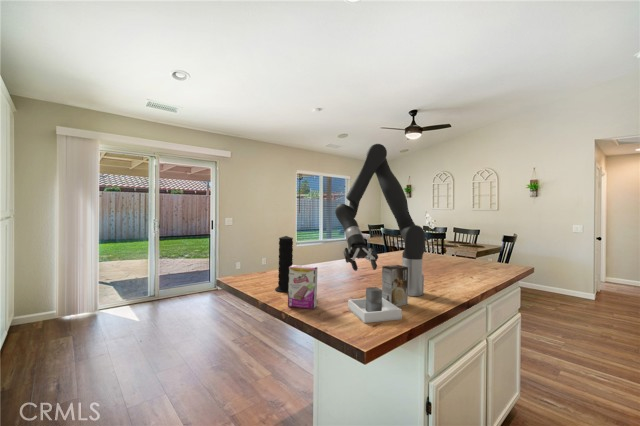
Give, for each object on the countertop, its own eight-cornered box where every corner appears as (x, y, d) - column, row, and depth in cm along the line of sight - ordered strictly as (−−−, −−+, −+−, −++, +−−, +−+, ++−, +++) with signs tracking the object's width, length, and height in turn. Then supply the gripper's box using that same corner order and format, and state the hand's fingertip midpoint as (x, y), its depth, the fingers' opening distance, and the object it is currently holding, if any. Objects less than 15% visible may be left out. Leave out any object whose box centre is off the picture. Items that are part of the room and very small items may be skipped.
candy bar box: (287, 307, 113) (288, 266, 112) (291, 303, 118) (291, 264, 117) (314, 309, 110) (314, 268, 110) (317, 305, 115) (317, 266, 115)
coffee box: (397, 300, 124) (398, 264, 124) (407, 304, 119) (408, 267, 118) (381, 303, 120) (381, 265, 120) (391, 307, 114) (392, 268, 114)
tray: (381, 305, 117) (381, 297, 117) (401, 319, 103) (401, 309, 102) (348, 308, 113) (348, 299, 113) (364, 323, 98) (364, 313, 98)
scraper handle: (375, 309, 110) (376, 286, 110) (381, 313, 106) (382, 290, 106) (365, 310, 109) (366, 287, 109) (370, 314, 105) (371, 290, 105)
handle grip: (271, 291, 133) (291, 293, 131) (272, 236, 133) (292, 237, 131) (279, 286, 143) (297, 287, 141) (279, 234, 143) (298, 235, 141)
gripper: (342, 233, 121) (352, 265, 110) (372, 233, 125) (384, 263, 114) (338, 244, 126) (347, 275, 115) (366, 243, 130) (378, 273, 119)
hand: (365, 269), depth 115 cm, fingers open, 8 cm apart
